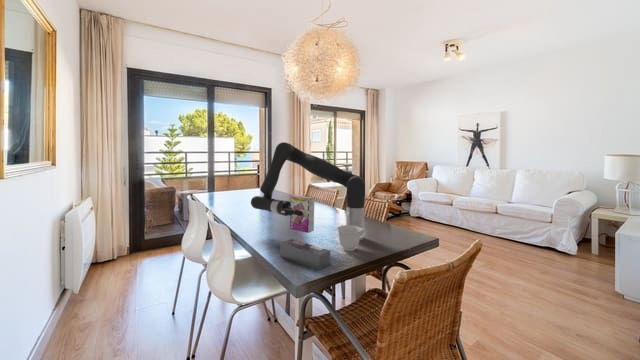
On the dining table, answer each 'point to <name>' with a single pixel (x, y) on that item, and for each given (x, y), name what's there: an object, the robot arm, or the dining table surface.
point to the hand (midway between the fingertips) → (306, 212)
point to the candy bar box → (307, 207)
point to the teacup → (350, 236)
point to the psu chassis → (305, 254)
